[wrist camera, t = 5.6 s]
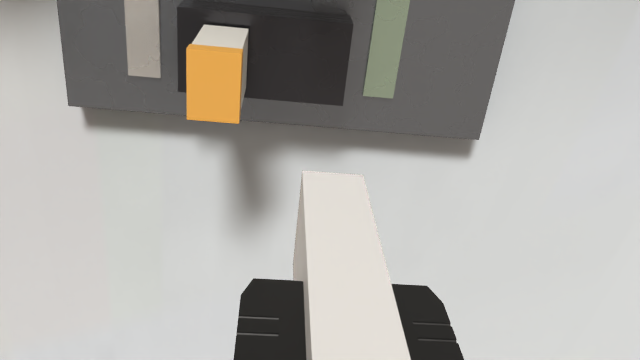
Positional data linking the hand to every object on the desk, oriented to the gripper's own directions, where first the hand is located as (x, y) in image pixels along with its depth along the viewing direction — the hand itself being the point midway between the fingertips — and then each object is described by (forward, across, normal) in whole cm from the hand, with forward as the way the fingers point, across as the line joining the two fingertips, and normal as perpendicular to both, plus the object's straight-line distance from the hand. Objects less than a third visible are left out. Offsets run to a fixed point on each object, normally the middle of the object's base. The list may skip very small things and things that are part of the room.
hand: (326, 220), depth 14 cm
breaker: (+14, -4, 0) cm, 14 cm away
